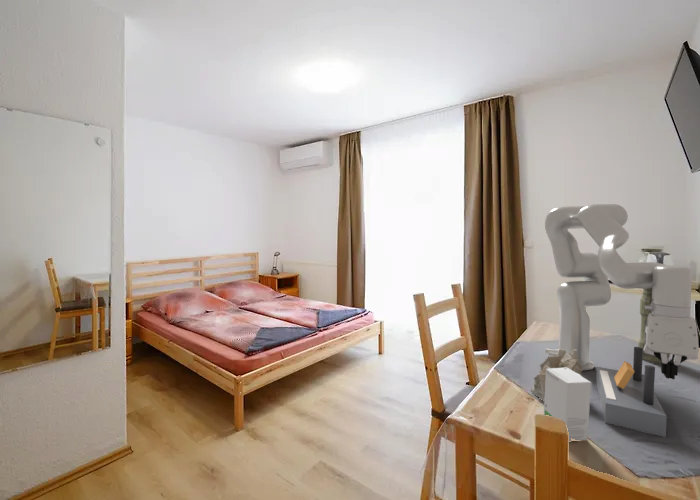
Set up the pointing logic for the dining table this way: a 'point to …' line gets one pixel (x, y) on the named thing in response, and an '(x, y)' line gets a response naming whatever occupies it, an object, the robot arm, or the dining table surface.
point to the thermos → (645, 300)
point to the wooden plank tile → (623, 375)
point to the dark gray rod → (649, 384)
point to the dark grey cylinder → (637, 364)
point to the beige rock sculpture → (555, 362)
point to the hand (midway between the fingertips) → (669, 376)
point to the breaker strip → (629, 404)
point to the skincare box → (568, 400)
